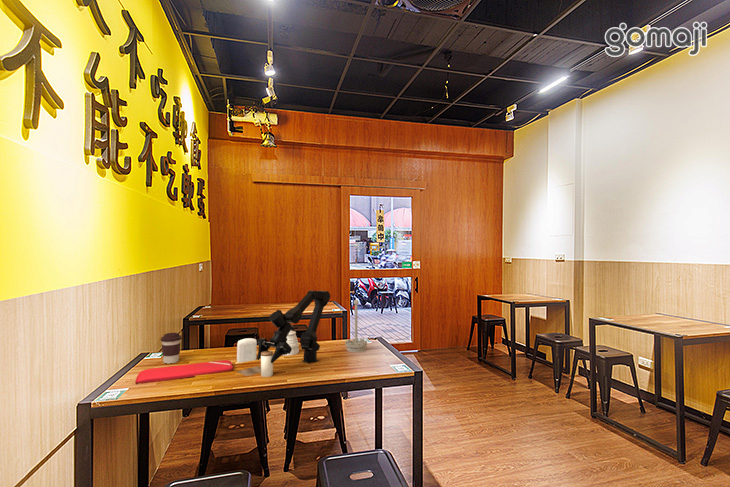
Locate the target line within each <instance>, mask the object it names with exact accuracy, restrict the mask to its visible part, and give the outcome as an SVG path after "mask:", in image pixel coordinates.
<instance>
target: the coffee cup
mask: <svg viewBox="0 0 730 487" xmlns="http://www.w3.org/2000/svg"><path fill="white" fill-rule="evenodd" d="M182 338H183V336H182V335H181V334H179V333H178V332H169V333H165V334H164V335H163V336H161V337H160V341H161V350H162V351H161V352H162V353H161V354H162V361H163V364H165V363H167V364H168V365H170V363H172V364H175V363H178V362H179V360H180V359H179V358H180V352H181V340H182Z"/></svg>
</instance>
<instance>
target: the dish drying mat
mask: <svg viewBox="0 0 730 487" xmlns="http://www.w3.org/2000/svg"><path fill="white" fill-rule="evenodd" d="M233 370H234V366H233V363H232V361H231V360H228V359H227V360H225V359H221V360H214V361H206V362H205V361H204V362H197V363H189V364H188V363H187V364H182V365H181V364H180V365H171V366H162V367H154V368H153V367H151V368H147V369H143V370H141V371H139V372H138V374H137V376H136V378H135V381H134V383H135V385H138V384H137V383H141V384H149V383H148V382H150V383H155V382H156V381H158V382H166V381H172V380H173V379H174V380H180V379H187V378H194V377H196V376H203V375H211V374H218V373H225V372H231V371H233ZM165 380H166V381H165ZM156 383H157V382H156Z"/></svg>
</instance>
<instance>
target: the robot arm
mask: <svg viewBox="0 0 730 487" xmlns="http://www.w3.org/2000/svg"><path fill="white" fill-rule="evenodd" d="M330 299H331V293H330V292H329V291H328V290H312V289H311V290H308V291H307V293H306V294H305V295H304V297H302V299H301V300H300V301H298V302H297V304H296V305H295V306H294V307H292V308H290V309H288V310H287V311H286V312H285V313H283V312H282V310H281V309H276V311H273V312H272V313H271V314H270V315H269V317H268V319H269V321H270V323H272V324H273V326H274V327H276V328H277V330H274V331H273V336H272V338H271V337H270V338H269V339H268V338H263V337H259V338H258V339H257V340H256V342H257V345H258V348H257V355H256V360H257V361H260V360H261V352H263V351H269V349H270V348H275V350H274V352H273V357H272V359H271V363H274V362H276V361H277V360H278V359H279V358H280V357H281V356H282V355H285V354H286V355H287V353H288V354H290V352H291V351H292V348H291V347H290V345H289V344H288V343H287V342H286V341H287V338H286V337H287V335H288V334H289V332H290V331H295V325H293V324H298V323H299V322H300V320H301V319H302V317H303V313H304V311H305V310H306V309H308V307H309V306H310V305H311V304H312V303H313V301H314V307H313V311H312V314H311V316H310V319H309V323H308V326H307V329H306V330H305V331H302V332H301V335H300V338H299V345H300V347H301V350H303V352H304V353H303V359H302V360H301V362H303V363H306V364H313V363H316V362H319V359H318V356H317V355H318V351H319V350H320V347H321V346H320V344H319V343H318V336H317V330H318V326H319V325H320V321H321V317H322V315H323V312H324V311H323V310H324V309H325V306H327V305H328V303H329V301H330Z"/></svg>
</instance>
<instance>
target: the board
mask: <svg viewBox="0 0 730 487" xmlns="http://www.w3.org/2000/svg"><path fill="white" fill-rule="evenodd" d="M235 372H236V373H238V374H241V375H243V376H246V377H249V376H252V375H256V374H261V366H257V365H256V366H253V367H249V368H245V369H241V370H238V371H237V370H236V371H235Z"/></svg>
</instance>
